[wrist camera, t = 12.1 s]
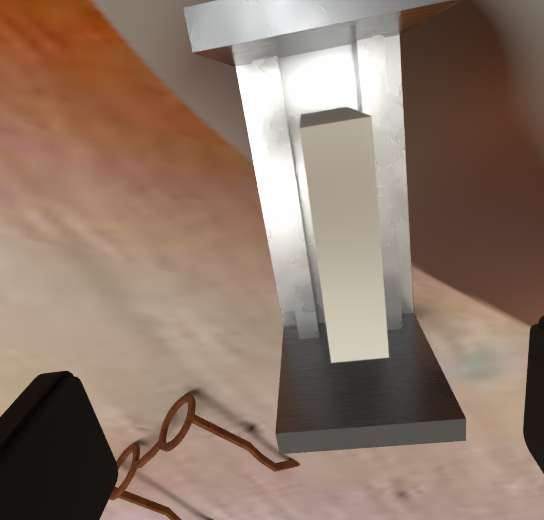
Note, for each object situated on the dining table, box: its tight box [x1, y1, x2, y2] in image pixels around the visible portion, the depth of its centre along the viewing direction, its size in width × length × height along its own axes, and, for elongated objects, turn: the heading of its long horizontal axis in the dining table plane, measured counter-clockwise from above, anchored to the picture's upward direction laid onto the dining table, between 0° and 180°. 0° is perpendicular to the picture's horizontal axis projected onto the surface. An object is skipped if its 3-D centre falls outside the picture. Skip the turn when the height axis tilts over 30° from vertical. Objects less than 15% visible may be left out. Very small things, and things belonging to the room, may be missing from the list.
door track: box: [183, 0, 466, 454], centre depth 24 cm, size 22×10×12 cm, turn 10°
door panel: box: [300, 107, 389, 363], centre depth 24 cm, size 12×3×10 cm, turn 9°
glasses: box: [109, 394, 300, 520], centre depth 39 cm, size 13×13×5 cm
